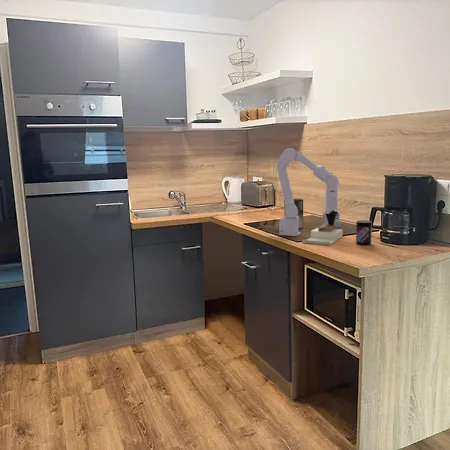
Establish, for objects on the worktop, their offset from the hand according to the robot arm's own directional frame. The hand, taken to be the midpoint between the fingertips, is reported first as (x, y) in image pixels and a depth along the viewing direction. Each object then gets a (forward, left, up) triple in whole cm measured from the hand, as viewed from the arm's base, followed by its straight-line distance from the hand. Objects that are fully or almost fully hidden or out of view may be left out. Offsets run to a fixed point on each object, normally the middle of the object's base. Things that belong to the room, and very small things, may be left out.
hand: (331, 225), depth 213 cm
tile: (0, -7, -1) cm, 7 cm away
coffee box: (-24, +11, -5) cm, 27 cm away
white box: (0, -8, -4) cm, 9 cm away
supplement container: (+20, -16, -5) cm, 26 cm away
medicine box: (-4, +15, -5) cm, 17 cm away
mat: (0, -19, -4) cm, 19 cm away
